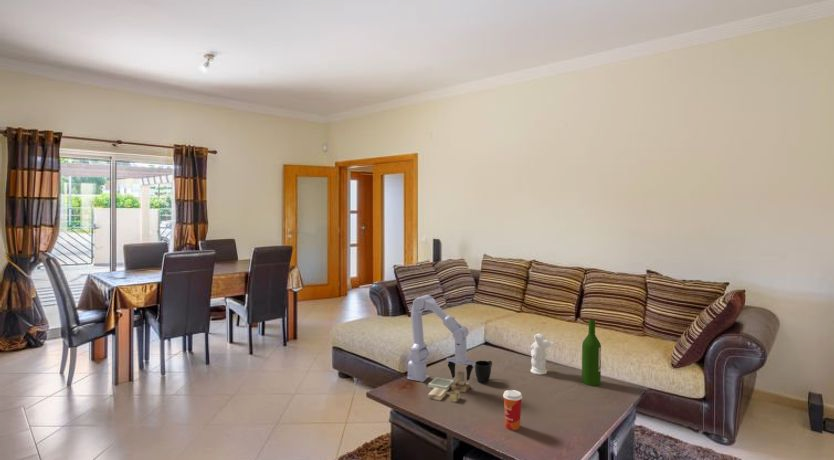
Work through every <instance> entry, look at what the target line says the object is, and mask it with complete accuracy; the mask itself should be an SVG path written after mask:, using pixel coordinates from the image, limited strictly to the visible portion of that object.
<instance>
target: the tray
mask: <svg viewBox="0 0 834 460" xmlns="http://www.w3.org/2000/svg"><path fill="white" fill-rule="evenodd" d="M454 383H455V380H454V379H449V378H443V377H438V376H435V377H434V378H433V379H432V380H430V381H429V382H428V383H427V388H428V389H432V390H433V389H434V388H440V389H446V392H448V391H449V389H450V388H452V385H453V384H454Z"/></svg>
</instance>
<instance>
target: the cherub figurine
mask: <svg viewBox="0 0 834 460" xmlns="http://www.w3.org/2000/svg"><path fill="white" fill-rule="evenodd" d="M533 338H534V342H533V343H532V344H530V347H529V348H530V349H531V352H530V355H531V360H530V364H531V368H530V373H532V374H533V375H539V376H540V375H546V374H547V372H548V370H547V369H546V365H547V360H546V357H547V352H546V349H547V348H550V347H552V346H553V345H554V343H555V342H554V341H550V340H549V339H545V338H546V337H545V335H543V334H542V333H536V334H534V336H533Z"/></svg>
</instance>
